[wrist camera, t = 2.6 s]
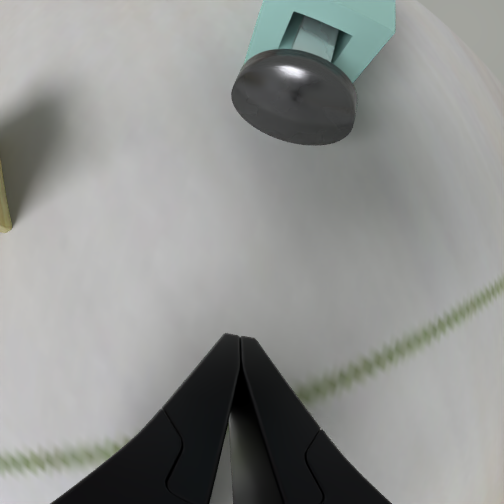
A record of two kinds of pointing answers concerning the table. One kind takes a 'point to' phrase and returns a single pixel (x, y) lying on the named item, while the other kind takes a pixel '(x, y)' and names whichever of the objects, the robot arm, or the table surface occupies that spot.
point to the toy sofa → (4, 207)
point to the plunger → (298, 89)
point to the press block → (336, 15)
